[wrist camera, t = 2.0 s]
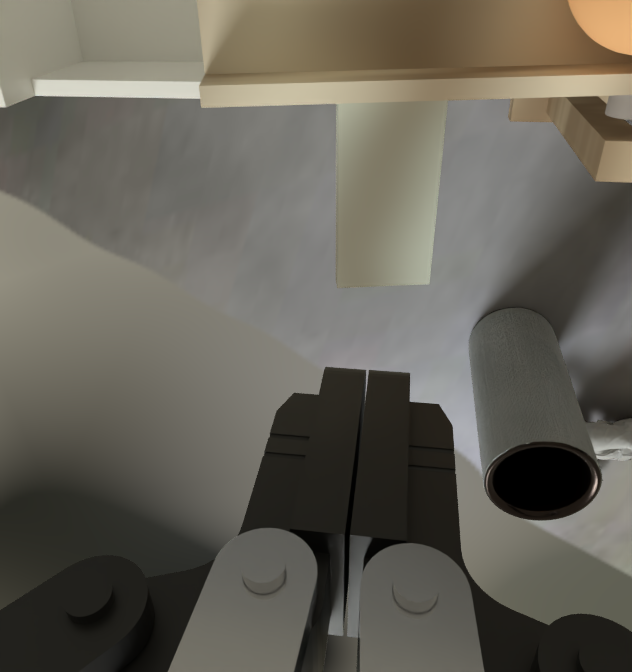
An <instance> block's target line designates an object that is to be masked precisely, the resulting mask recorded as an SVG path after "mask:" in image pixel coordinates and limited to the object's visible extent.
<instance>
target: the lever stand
mask: <svg viewBox="0 0 632 672" xmlns="http://www.w3.org/2000/svg"><path fill="white" fill-rule="evenodd" d="M608 97H609V96H580V97H546V98H512V99H511V101H510V108H509V114H508V118H509V120H510V121H520V122H553V123H554V124H555V125H556V127H557V128H558V130H559V131H560V132H561V134H562V135H563V137H564V138H565V140H566V141H567V142H568V144H569V145H570V147H571V148H572V149H573V151H574V152H575V154H576V155H577V156H578V158H579V159H580V161H581V162H582V163H583V165H584V166H585V168H586V169H587V170H588V172H589V173H590V175H591V176H592V177H593V179H594V180H595V181H601V182H631V183H632V126H631V125H630V124H629V123H627V122H626V121H625V120H624V119H618V118H613V117H609V116H607V115H605V110H606V106H607V102H608Z"/></svg>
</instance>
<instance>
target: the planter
mask: <svg viewBox="0 0 632 672" xmlns="http://www.w3.org/2000/svg"><path fill="white" fill-rule="evenodd" d="M469 357H470V366H471V375H472V384H473V393H474V403H475V412H476V421H477V430H478V439H479V448H480V457H481V466H482V475H483V483H484V489H485V491H486V494H487V496H488V497H489V499H490V500H491V501H492V502H493V503H494V504H495V505H496V506H497V507H498V508H500V509H501V510H503V511H504V512H506V513H508V514H511V515H513V516H516V517H519V518H523V519H528V520H553V519H559V518H563V517H566V516H569V515H572V514H574V513H576V512H578V511H580V510H582V509H583V508H585V507H586V506H587V505H588V504H590V503H591V502H592V501H593V499H594V498H595V497H596V495H597V494H598V492H599V490H600V487H601V483H602V474H601V470H600V466H599V463H598V460H597V457H596V454H595V451H594V448H593V445H592V442H591V439H590V436H589V433H588V430H587V427H586V424H585V421H584V418H583V415H582V412H581V409H580V406H579V403H578V400H577V397H576V394H575V391H574V388H573V385H572V382H571V379H570V377H569V374H568V371H567V368H566V365H565V362H564V359H563V356H562V353H561V350H560V347H559V344H558V341H557V338H556V335H555V333H554V330H553V328H552V326H551V325H550V323H549V322H548V321H547V320H546V319H545V318H544V317H543V316H541V315H540V314H538V313H536V312H534V311H531V310H528V309H523V308H507V309H502V310H498V311H496V312H493V313H491V314H489V315H487V316H486V317H484V318H483V319H482V320H481V321H480V322H479V323H478V324H477V325H476V326H475V327H474V329H473V331H472V333H471V335H470V339H469Z"/></svg>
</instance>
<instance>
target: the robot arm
mask: <svg viewBox="0 0 632 672" xmlns="http://www.w3.org/2000/svg"><path fill="white" fill-rule="evenodd" d="M365 389H366V370H360V369H346V368H333V367H325V370H324V374H323V379H322V383H321V388H320V392H319V395H314V394H301V393H294V394H292V396H291V397H290V398H289V399H288V400H287V401H286V402H285V403H284V404H283V405H282V406H281V407H280V408H279V409H278V410H277V412H276V415H275V419H274V422H273V425H272V428H271V432H270V438H269V439H268V442H267V445H266V449H265V454H264V456H263V458H262V462H261V465H260V468H259V471H258V475H257V478H256V481H255V485H254V488H253V492H252V495H251V498H250V501H249V505H248V508H247V511H246V515H245V518H244V521H243V524H242V527H241V530H240V532H239V534H238V536H237V537H235V538H234V539H232V540H231V541H230V542H228V543H227V544H226V545H225V546H224V547H223V548H222V550H221V551H220V552H219V554H218V555H217V557H216V559H214V560H212V561H210V562H209V563H207V564H205V565H202V566H200V567H197V568H194V569H190V570H186V571H181V572H176V573H170V574H165V575H159V576H154V577H148V578H145V576H144V574H143V572H142V571H141V569H140V568H139V567H138V566H137V565H136V564H135V563H133V562H132V561H130V560H128V559H125V558H123V557H119V556H113V555H110V556H109V555H103V556H95V557H91V558H88V559H84V560H82V561H79V562H77V563H75V564H73V565H71V566H69V567H67V568H66V569H64V570H63V571H61V572H59V573H58V574H57V575H55V576H53V577H52V578H50V579H48V580H47V581H45V582H44V583H42V584H41V585H39V586H37V587H36V588H34V589H33V590H31V591H30V592H28V593H26V594H25V595H23V596H22V597H20V598H19V599H17V600H15V601H14V602H12V603H11V604H9V605H8V606H6V607H5V608H3V609H1V610H0V672H323V668H324V662H325V654H326V646H327V639H328V634H331V635H340V636H343V630H344V621H345V611H346V603H347V593H348V632H347V633H348V634H347V636H349V637H357V638H358V649H357V672H632V632H631V631H629V630H628V629H626V628H625V627H623V626H621V625H619V624H617V623H615V622H613V621H611V620H609V619H606V618H603V617H600V616H595V615H590V614H572V615H568V616H564V617H561V618H560V619H558V620H555V621H554V622H553V623H551V624H550V625H547V624H544V623H542V622H540V621H537V620H535V619H533V618H530V617H528V616H526V615H523V614H521V613H518V612H516V611H514V610H512V609H510V608H508V607H506V606H504V605H502V604H500V603H499V602H497V601H495V600H494V599H492V598H491V597H490V596H488V595H487V594H486V593H485V592H484V591H483V590H482V589H481V588H480V587H479V586H478V585H477V584H476V583H475V581H474V580H473V579H472V577H471V576H470V574H469V572H468V570H467V569H466V567H465V564H464V561H463V558H462V552H461V543H460V528H459V513H458V499H457V485H456V474H455V456H454V441H453V426H452V424H451V423H450V421H449V419H448V418H447V416H446V415H445V413H444V412H443V410H442V409H441V407H440V405H439V404H430V403H417V402H409V400H410V373H403V372H389V371H376V370H369V375H368V384H367V392H366V401H365ZM348 584H349V592H348Z"/></svg>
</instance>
